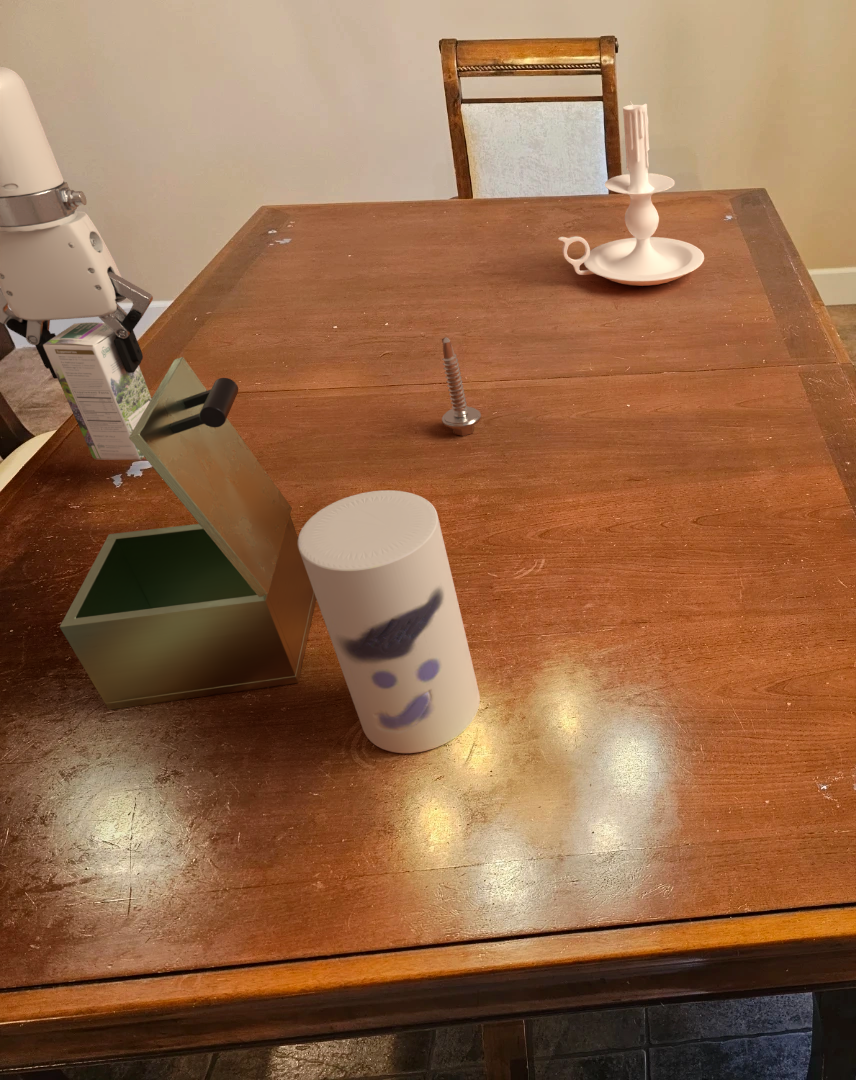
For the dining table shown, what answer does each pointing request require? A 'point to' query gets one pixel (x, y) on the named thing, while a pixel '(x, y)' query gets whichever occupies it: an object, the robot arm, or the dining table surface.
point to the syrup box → (99, 389)
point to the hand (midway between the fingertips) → (98, 369)
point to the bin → (186, 619)
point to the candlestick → (638, 222)
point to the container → (393, 617)
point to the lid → (214, 471)
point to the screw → (457, 396)
